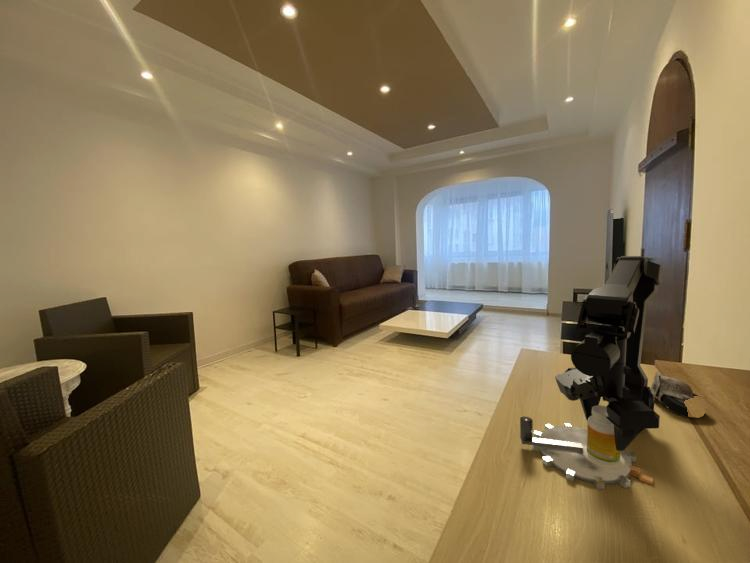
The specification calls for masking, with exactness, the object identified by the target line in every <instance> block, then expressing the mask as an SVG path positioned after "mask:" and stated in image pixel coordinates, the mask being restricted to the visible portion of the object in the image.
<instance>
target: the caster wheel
mask: <svg viewBox="0 0 750 563" xmlns="http://www.w3.org/2000/svg"><path fill="white" fill-rule="evenodd" d="M650 389H651V393H652V394H653V396H654V400H655V399H656V398H657V400H658V401H659V402H660V403H661V404H663V405H664V406H665V407H666V408H667V409H668V410H670V411H672V412H673V413H675V414H677V415H680V416H683V417H685V418H689V417H688V412H687V407H686V406H685V404H684V401H685V400H688V399H690V398H694V396H699V395H698V394H696V393H695V392H693V390H692V388H691V386H690V385H689V384H688V383H686V382H685V381H683V380H681V379H677V378H673V377H669V376H665V375H661V374H659V370H658V369H656V371H655V376H654V377H653V380H652V384H651V386H650Z"/></svg>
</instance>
